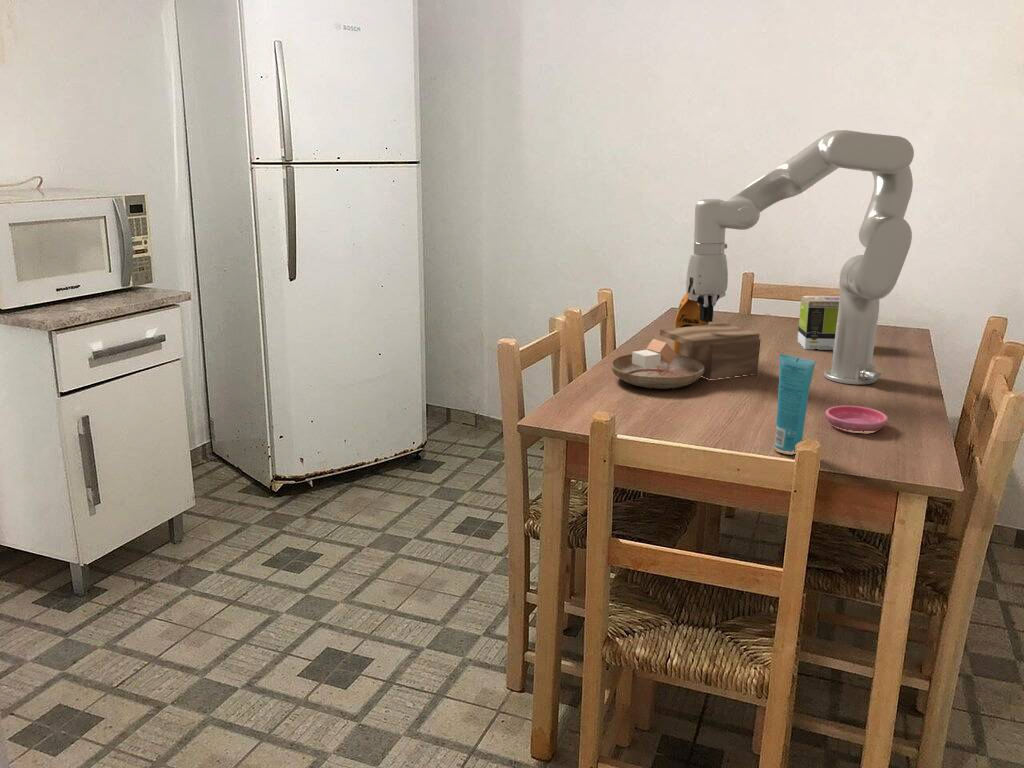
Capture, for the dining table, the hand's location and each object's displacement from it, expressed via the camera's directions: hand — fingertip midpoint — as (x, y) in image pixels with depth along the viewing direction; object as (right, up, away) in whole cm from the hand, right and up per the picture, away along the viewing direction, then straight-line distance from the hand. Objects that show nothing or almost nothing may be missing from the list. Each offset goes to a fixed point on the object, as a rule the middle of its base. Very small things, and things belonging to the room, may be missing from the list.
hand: (706, 320), depth 216 cm
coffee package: (0, -9, +21) cm, 23 cm away
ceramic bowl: (-14, -16, -4) cm, 21 cm away
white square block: (-16, -8, -7) cm, 20 cm away
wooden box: (+1, -13, +5) cm, 14 cm away
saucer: (+24, -26, -36) cm, 50 cm away
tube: (+4, -30, -51) cm, 59 cm away
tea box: (+44, -5, +34) cm, 56 cm away
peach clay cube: (-11, -7, -4) cm, 14 cm away
